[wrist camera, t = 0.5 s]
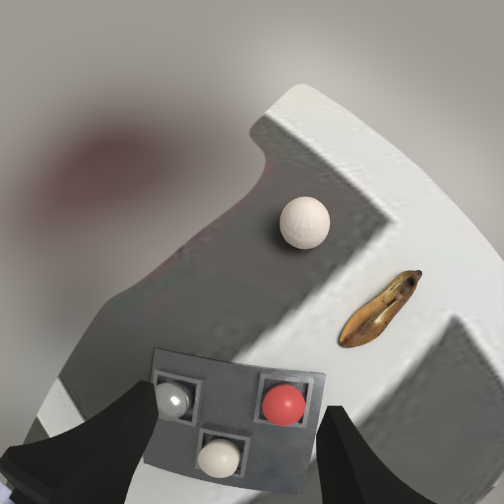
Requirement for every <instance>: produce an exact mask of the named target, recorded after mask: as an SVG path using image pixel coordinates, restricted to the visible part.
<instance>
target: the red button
mask: <svg viewBox="0 0 504 504" xmlns="http://www.w3.org/2000/svg"><path fill="white" fill-rule="evenodd" d="M262 408H263V413H264V415H265V417H266V418H267V419H268V420H269V421H270V422H271V423H273V424H275V425H279V426H287V425H291V424H293V423H295V422H297V421H298V420H299V419H300V418H301V417H302V415H303V414H304V411H305V401H304V398H303V396H302V394H301V392H300V390H299V389H298V388H296V387H295V386H293V385H290V384H278V385H275V386H273V387H272V388H270V389H269V390H268V392H267V393H266V395H265V397H264V401H263V406H262Z"/></svg>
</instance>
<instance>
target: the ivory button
mask: <svg viewBox="0 0 504 504" xmlns="http://www.w3.org/2000/svg"><path fill="white" fill-rule="evenodd" d="M239 461H240V451H239V449H238V448H237V446H236V445H235V444H234V443H232V442H230V441H228V440H225V439H214V440H211V441H210V442H208V443H207V444H206V445H205V447H204V448H203V449H202V450H201V452H200V453H199V455H198V464H199V466H200V468H201V469H202V470H203V471H204V472H205V473H206V474H208V475H210V476H212V477H216V478H224V477H228V476H230V475H232V474H233V473H234V472H235V470H236V468H237V466H238V463H239Z"/></svg>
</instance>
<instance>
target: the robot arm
mask: <svg viewBox="0 0 504 504" xmlns="http://www.w3.org/2000/svg"><path fill="white" fill-rule="evenodd" d="M158 416H159V412H158V406H157V400H156V394H155V387H154V384H153V383H149V382H145V381H139V382H138V383H137V384H136V385H134V386H133V387H132V388H131V389H130V390H128V391H127V392H126V393H125V394H124V395H122V396H121V397H120V398H119V399H117V400H116V401H115V402H113V403H112V404H111V405H109V406H108V407H107V408H106V409H104V410H103V411H101V412H100V413H98V414H97V415H95V416H94V417H92V418H91V419H89V420H87V421H86V422H84V423H82V424H81V425H79V426H77V427H75V428H73V429H71V430H69V431H66V432H64V433H62V434H59V435H57V436H54V437H52V438H48V439H45V440H42V441H38V442H35V443H30V444H25V445H19V446H12V447H9V448H8V449H7V450H6V452H5V453H4V454H3V456H2V457H1V458H0V472H1V473H2V475H3V476H4V477H5V478H6V479H7V480H8V481H9V482H10V483H11V484H12V485H13V486H14V487H15V489H14V490H13V491H12V490H11V489H10V488H8V487H7V486H6V485H5V484H4V483H2V482H1V481H0V504H124V502H125V499H126V495H127V492H128V489H129V486H130V483H131V480H132V477H133V474H134V472H135V469H136V467H137V465H138V463H139V461H140V459H141V457H142V455H143V453H144V451H145V449H146V447H147V445H148V443H149V441H150V438H151V436H152V434H153V431H154V428H155V426H156V422H157V419H158ZM316 455H317V463H318V470H319V477H320V484H321V491H322V501H323V504H437V503H434V502H432V501H430V500H429V499H427V498H425V497H424V496H422V495H420V494H419V493H417V492H416V491H414V490H413V489H412V488H410V487H409V486H408V485H406V484H405V483H404V482H403V481H401V480H400V479H399V478H398V477H397V476H396V475H394V474H393V473H392V472H391V471H390V470H389V469H388V468H387V467H386V466H385V465H384V464H383V462H382V461H381V460H380V459H379V458H378V457H377V456H376V454H375V453H374V452H373V451H372V449H371V448H370V447H369V446H368V444H367V443H366V441H365V440H364V439H363V437H362V436H361V434H360V433H359V432H358V430H357V429H356V427H355V426H354V424H353V422H352V421H351V419H350V418H349V416H348V414H347V413H346V411H345V410H344V408H343V407H342V406H327V409H326V412H325V414H324V417H323V419H322V422H321V424H320V427H319V429H318V431H317V434H316Z"/></svg>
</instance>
